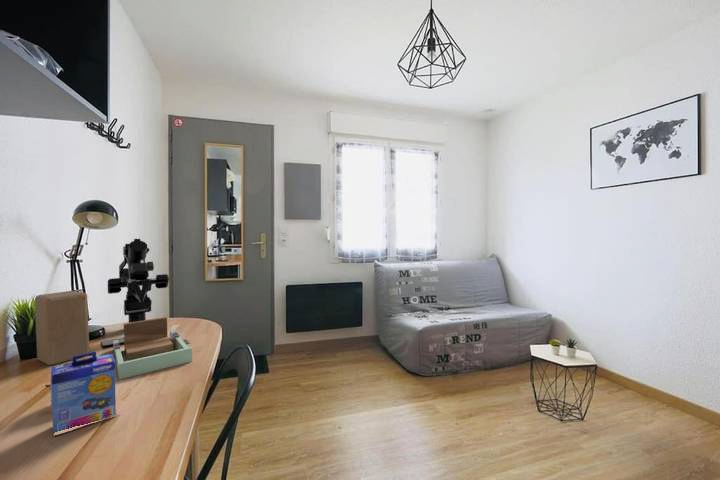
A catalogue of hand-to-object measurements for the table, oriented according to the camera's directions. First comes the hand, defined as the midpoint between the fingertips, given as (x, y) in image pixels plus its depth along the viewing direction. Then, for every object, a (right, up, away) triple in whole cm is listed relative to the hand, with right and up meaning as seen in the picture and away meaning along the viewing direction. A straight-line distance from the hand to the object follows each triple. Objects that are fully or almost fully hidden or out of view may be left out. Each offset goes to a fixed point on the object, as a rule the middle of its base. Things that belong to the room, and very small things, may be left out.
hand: (141, 301), depth 116 cm
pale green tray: (+14, -14, -15) cm, 25 cm away
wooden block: (-13, -14, -17) cm, 25 cm away
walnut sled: (+10, -14, -12) cm, 21 cm away
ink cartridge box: (+23, -15, -50) cm, 57 cm away
